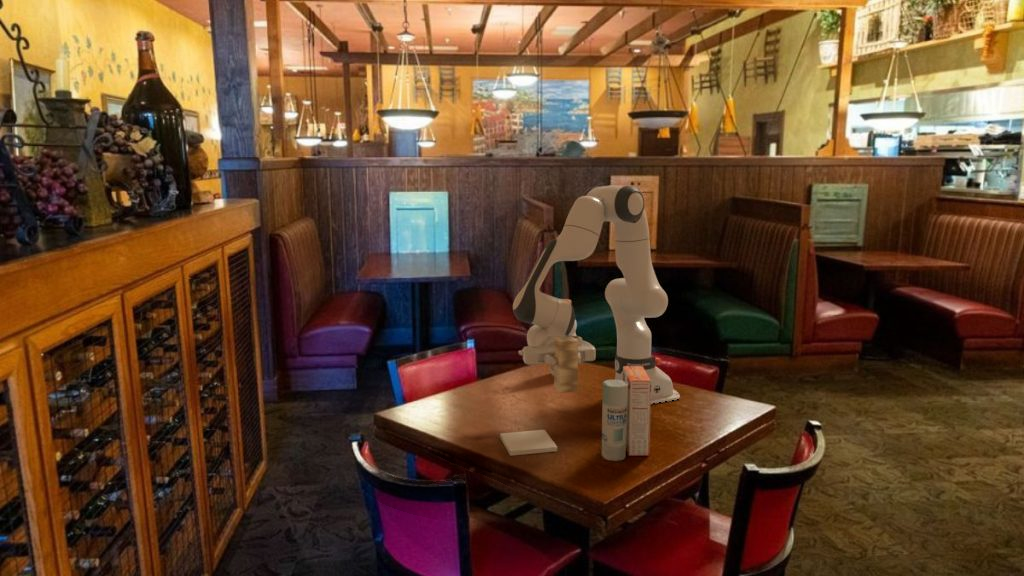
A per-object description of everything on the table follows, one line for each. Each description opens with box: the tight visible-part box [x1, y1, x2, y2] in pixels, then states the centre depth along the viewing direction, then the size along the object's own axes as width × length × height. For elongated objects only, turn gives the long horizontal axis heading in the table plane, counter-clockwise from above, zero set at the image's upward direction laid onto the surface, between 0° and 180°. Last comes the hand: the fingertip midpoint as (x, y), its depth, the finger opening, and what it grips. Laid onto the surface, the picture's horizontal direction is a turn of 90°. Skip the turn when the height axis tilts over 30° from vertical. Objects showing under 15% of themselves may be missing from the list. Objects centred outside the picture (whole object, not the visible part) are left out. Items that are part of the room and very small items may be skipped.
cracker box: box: [623, 366, 651, 457], centre depth 191 cm, size 14×6×21 cm, turn 178°
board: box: [499, 429, 558, 456], centre depth 194 cm, size 13×13×1 cm
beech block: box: [553, 336, 579, 394], centre depth 189 cm, size 5×5×14 cm
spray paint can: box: [601, 379, 628, 462], centre depth 185 cm, size 6×6×20 cm
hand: (567, 361), depth 188 cm, fingers closed on beech block, 5 cm apart
